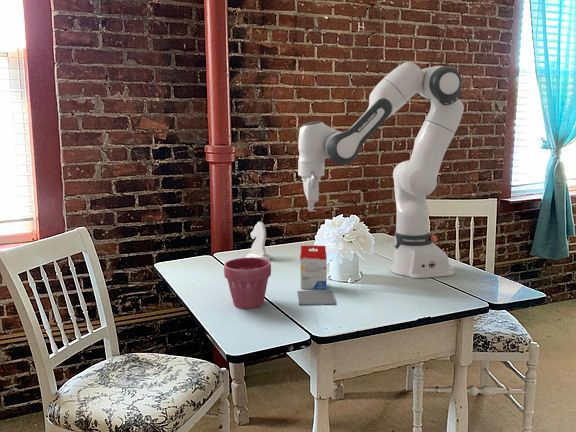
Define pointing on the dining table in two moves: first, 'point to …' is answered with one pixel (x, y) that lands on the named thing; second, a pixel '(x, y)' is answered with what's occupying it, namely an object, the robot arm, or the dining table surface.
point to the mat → (316, 298)
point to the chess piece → (259, 242)
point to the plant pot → (247, 280)
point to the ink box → (313, 267)
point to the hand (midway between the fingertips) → (310, 210)
